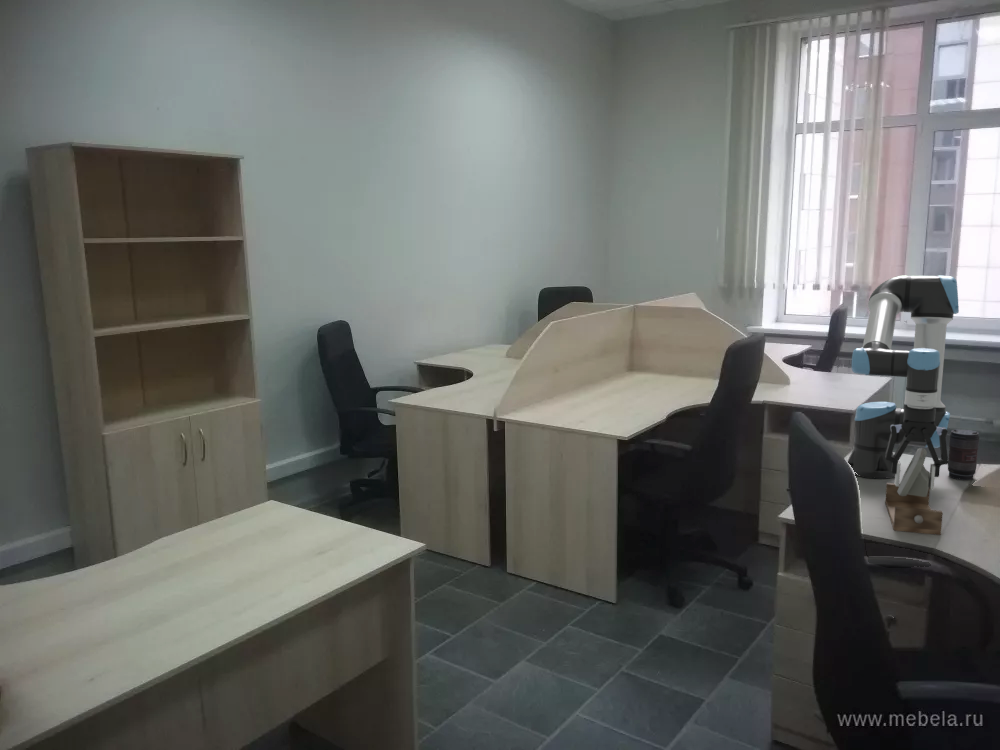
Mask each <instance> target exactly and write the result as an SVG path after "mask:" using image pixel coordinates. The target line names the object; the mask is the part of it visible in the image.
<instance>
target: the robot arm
mask: <svg viewBox="0 0 1000 750" xmlns="http://www.w3.org/2000/svg"><path fill="white" fill-rule="evenodd" d="M867 309H868V312H869V314H868V320H867V323H866V324H867V325H866V329H865V334H864V338H863V343H862V347H859V348H858V347H856V348H855V349H853V351H852V354H851V371H852V372H853V373H854V374H859V375H865V376H886V377H887V376H888V377H898V378H899V377H900V378H906V384H905V385H906V386H905V393H904V403H903V408H901V407H897V405H896V403H895V402H891V401H890V402H889V401H870V402H865V403H862V404H859V405H858V406H857V408H856V409H855V410H856V411H855V417H854V421H855V422H854V423H855V424H854V435H853V436H854V438H853V447H852V450H851V453H850V455H849V457H848V460H847V461H848V463H849V464H850V465H851V467H852V468H853V470H854V472H856V473H857V474H858V475H860V476H859V477H861V476H862V477H861V478H866V477H867V479H874V478H876V479H875V480H877V479H880V480H882V479H883V480H884V479H892V478H894V483H895V485H896V486H898V487H899V484H900V480H901V479H900V478H901V462H900V459H901V457H902V455H903V453H904V452H905V450H906V449H907V447H908V446H913V447H919V448H924V449H926V448H927V449H928V451H929V454H930V456H931V458H932V461H933V463H930V468H929V472H930V479H929V487H930V490H934V489H935V478H939V477H940V470H941V469H940V468H941V466H943V465H944V466H945V465H948V458H949V455H948V448H947V439H946V438H947V436H948V431H949V430H948V427H949V422H950V418H951V413H950V412H949V411H946V405H945V404H944V403H943V402H942V400H941V399H942V386H943V385H942V384H943V374H944V372H943V371H944V363H945V351H946V350H945V348H946V338H947V326H948V324H949V323H950V322H952V321H953V319H954V315H956V314H959V311H960V310H959V294H958V282H957V279H956V277H953V276H951V275H897V276H894V277H892V278H888V279H886V280H885V281H884V282H882V283H881V284H879V285H878V286H877V287H876V288H875V289H874V290H873V291H872V293H871V294H870V296H869V298H868V301H867ZM903 312H904V313H910V319H911V321H913V322H914V323H915V328H914V329H915V330H914V338H913V339H914V341H913V348H912V349H910V350H905V349H904V350H902V349H892V346H893V345H892V344H893V339H894V332H895V326H896V322H897V321H896V320H897V316H898V315H899V313H903ZM895 445H898V447H897V448H896V451H895V452H894V448H895ZM935 448H936V449H938V448H940V459H939V456H938V455H937V452H936V450H935ZM856 473H855V474H856ZM857 474H856V475H855V476H857Z"/></svg>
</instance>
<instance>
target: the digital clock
mask: <svg viewBox="0 0 1000 750" xmlns="http://www.w3.org/2000/svg"><path fill="white" fill-rule="evenodd" d="M927 454H928V451H927V450H926V448H924V447H919V448H918V447H917V450H916V451H915V453H914V455H913V457H912V458H911V460H910V462H909V464H908V466H907V468H905V469H906V470H905V471H904V474H903V475H902V478H901V479H900V481H899V484H900V485H899V488H898V490H897V492H898V494H899V495H900V496H907V494H908V495H915V496H922V497H926V496H927V493H928V490H929V479H930V470H929V471H928V470H927V469H926V467H925V466H924V463H925V461H926V458H927V457H926V456H927Z"/></svg>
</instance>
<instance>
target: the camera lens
mask: <svg viewBox="0 0 1000 750" xmlns="http://www.w3.org/2000/svg"><path fill="white" fill-rule="evenodd" d="M948 446H949V449H948V450H949V451H948V464H947V472H948V476H949V477H950V478H953V479H956V480H960V481H970V480H973V478H974V476H975V474H976V473H977V472H976V471H977V467H978V466H977V465H978V450H979V447H980V433H979V432H978V431H976V430H971V429H959V428H958V429H957V428H956V429H951V432H950V434H949V441H948Z"/></svg>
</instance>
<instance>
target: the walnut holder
mask: <svg viewBox="0 0 1000 750" xmlns="http://www.w3.org/2000/svg"><path fill="white" fill-rule="evenodd" d="M885 484H886V485H885V486H886V487H885V500H884V504H885V507H886V509H887V512H888V516H889V519H890V522H891V525H892V528H893V530H894V531H897V532H906V533H907V532H908V533H917V534H927V535H935V534H936V535H939V536H941V535H942V527H943V525H942V523H943V513H944V512H943V510H938V509H932V508H931V506H930V490H931V489H930V487H929V490H928V493H927V496H926V497H922V496H915V495H908V494H907V496H900V495H899V494H898V492H897V490H898V488H899V487H898V486H896V485H895V482H894V483H893V482H886V483H885ZM899 485H900V483H899Z"/></svg>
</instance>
